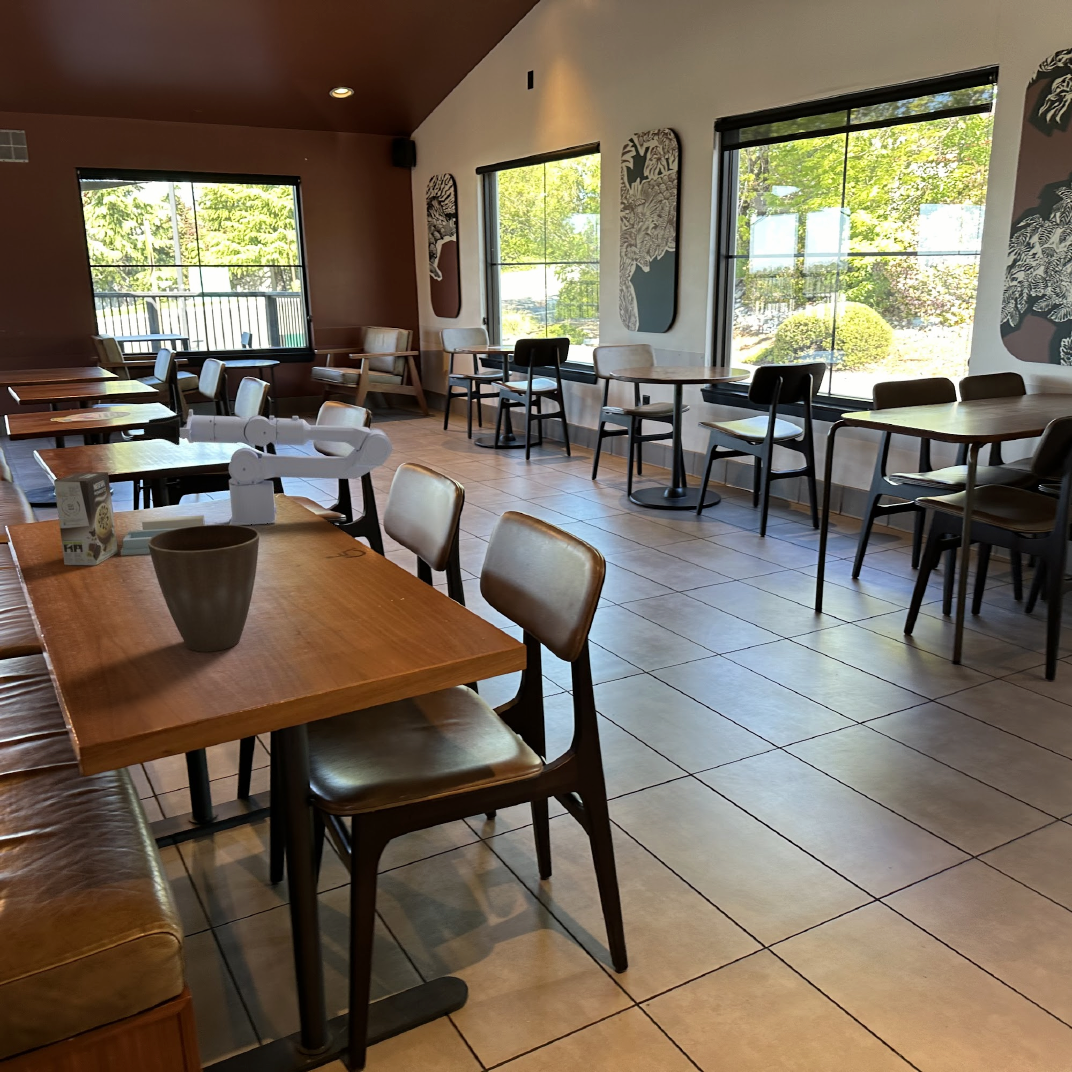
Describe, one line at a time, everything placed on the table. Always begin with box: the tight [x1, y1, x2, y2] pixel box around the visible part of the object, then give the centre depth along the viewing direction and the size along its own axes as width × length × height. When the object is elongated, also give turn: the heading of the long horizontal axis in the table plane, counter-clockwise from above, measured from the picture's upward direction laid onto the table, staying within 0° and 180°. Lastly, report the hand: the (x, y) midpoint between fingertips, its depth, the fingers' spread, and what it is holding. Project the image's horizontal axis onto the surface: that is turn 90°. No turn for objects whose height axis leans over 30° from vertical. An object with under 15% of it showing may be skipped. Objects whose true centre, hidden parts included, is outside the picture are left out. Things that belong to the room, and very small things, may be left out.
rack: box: [120, 528, 179, 556], centre depth 189 cm, size 16×9×3 cm, turn 104°
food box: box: [53, 471, 118, 566], centre depth 180 cm, size 9×6×16 cm
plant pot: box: [148, 524, 260, 653], centre depth 137 cm, size 15×15×16 cm
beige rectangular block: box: [141, 514, 206, 530], centre depth 201 cm, size 12×3×3 cm, turn 104°
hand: (146, 427), depth 200 cm, fingers open, 7 cm apart
